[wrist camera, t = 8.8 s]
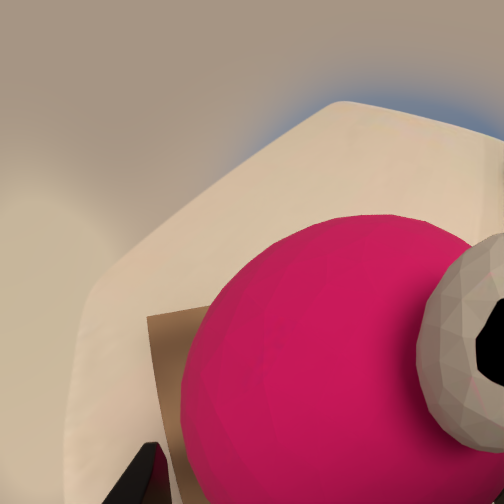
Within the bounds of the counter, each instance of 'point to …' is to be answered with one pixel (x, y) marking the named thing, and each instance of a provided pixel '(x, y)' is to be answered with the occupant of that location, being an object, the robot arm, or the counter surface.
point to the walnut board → (175, 387)
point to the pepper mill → (352, 370)
